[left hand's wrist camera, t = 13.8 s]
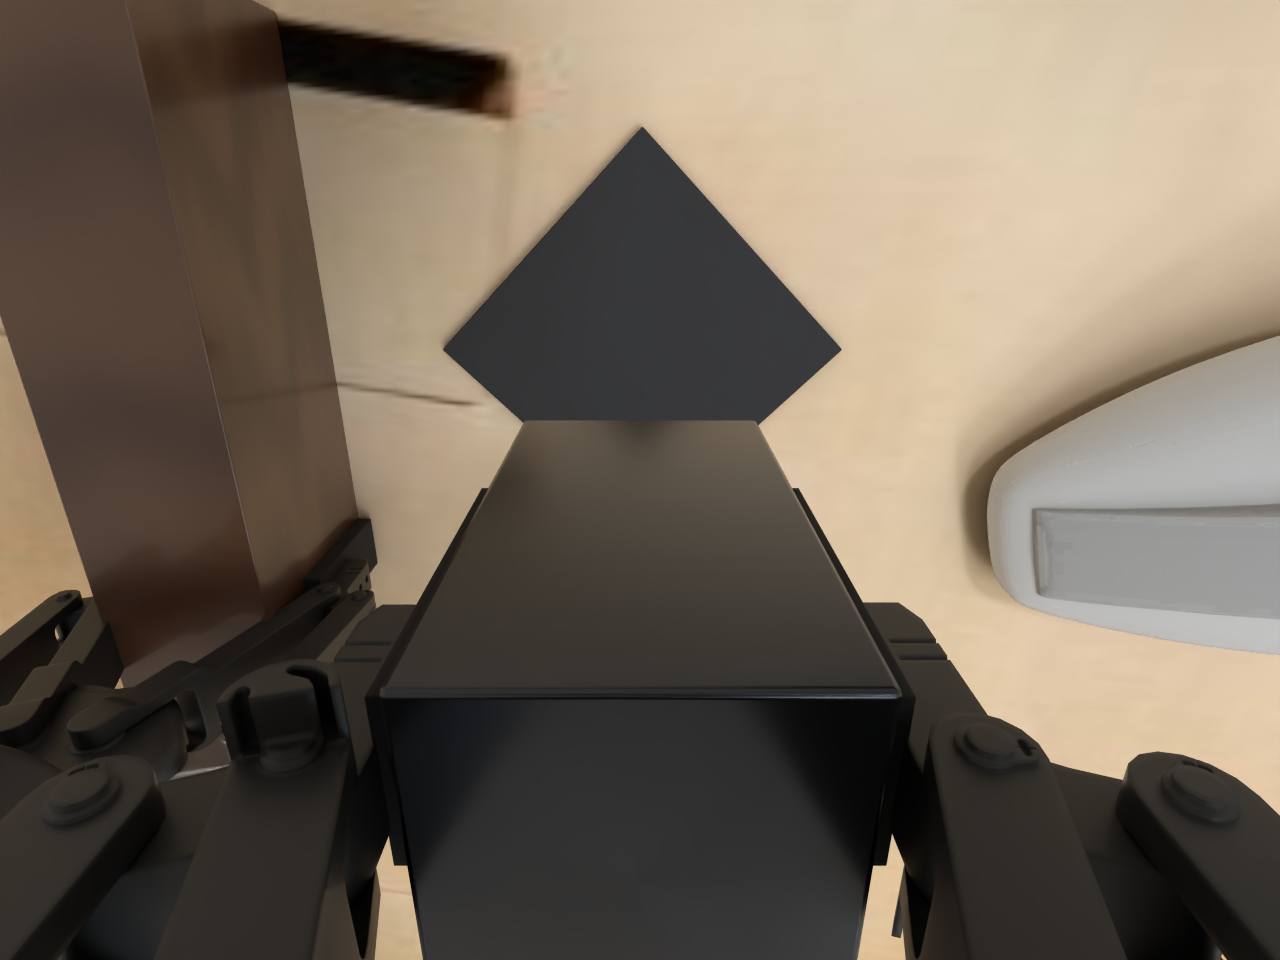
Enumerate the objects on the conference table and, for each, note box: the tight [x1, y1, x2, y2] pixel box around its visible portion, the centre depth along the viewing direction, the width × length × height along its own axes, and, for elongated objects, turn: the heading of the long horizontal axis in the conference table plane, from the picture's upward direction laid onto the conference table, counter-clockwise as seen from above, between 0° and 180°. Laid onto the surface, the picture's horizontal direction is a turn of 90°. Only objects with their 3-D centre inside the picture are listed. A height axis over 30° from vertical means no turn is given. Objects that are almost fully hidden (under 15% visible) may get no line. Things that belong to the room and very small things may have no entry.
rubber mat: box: [443, 127, 842, 425], centre depth 35 cm, size 14×14×1 cm
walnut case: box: [0, 0, 358, 701], centre depth 30 cm, size 30×7×10 cm, turn 0°
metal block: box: [379, 420, 902, 960], centre depth 12 cm, size 5×5×9 cm
